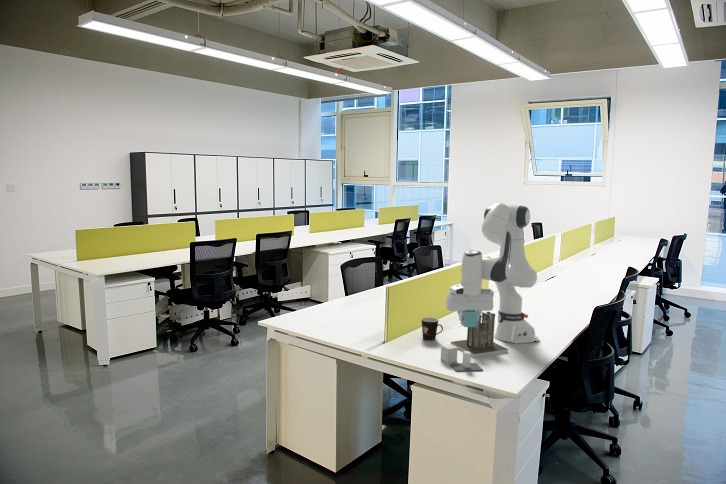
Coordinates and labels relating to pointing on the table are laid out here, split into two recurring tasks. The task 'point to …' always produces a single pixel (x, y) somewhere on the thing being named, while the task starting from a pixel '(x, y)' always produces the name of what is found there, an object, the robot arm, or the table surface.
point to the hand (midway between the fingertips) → (468, 320)
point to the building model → (481, 338)
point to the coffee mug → (430, 328)
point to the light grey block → (449, 353)
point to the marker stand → (466, 364)
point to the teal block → (469, 318)
